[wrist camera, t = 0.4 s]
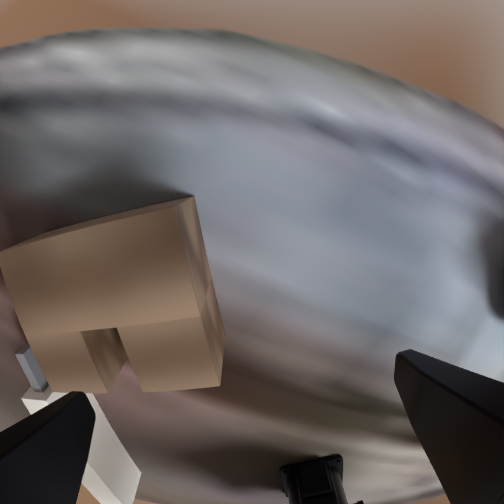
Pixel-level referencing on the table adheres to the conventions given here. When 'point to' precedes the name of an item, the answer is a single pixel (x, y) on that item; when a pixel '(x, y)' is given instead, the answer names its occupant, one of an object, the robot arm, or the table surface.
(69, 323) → the tan notched block
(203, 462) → the table surface
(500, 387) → the robot arm
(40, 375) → the white curved bar
